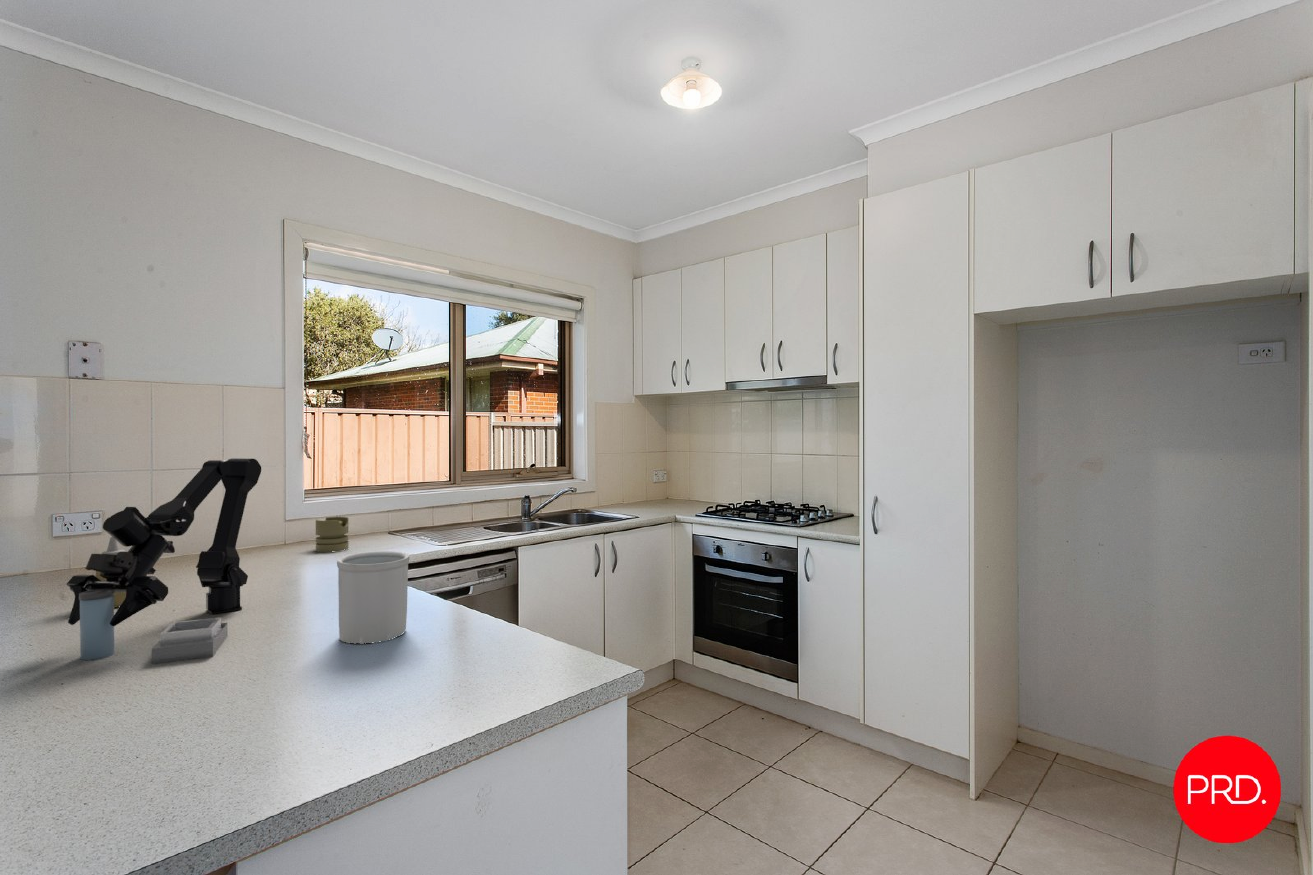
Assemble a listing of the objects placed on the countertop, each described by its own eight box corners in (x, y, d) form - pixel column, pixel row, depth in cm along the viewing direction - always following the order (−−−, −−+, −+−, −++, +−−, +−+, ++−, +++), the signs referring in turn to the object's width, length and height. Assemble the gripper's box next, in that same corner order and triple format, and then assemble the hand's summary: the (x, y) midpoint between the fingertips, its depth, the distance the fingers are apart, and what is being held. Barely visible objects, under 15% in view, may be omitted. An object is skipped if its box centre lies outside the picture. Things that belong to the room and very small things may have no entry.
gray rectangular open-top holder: (172, 642, 136) (172, 619, 136) (227, 636, 140) (227, 613, 140) (151, 663, 124) (151, 638, 123) (213, 656, 128) (212, 631, 128)
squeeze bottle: (141, 603, 168) (140, 535, 167) (106, 611, 160) (105, 540, 160) (120, 600, 170) (120, 534, 170) (85, 608, 163) (85, 538, 162)
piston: (354, 517, 249) (335, 521, 237) (354, 547, 249) (335, 553, 238) (328, 516, 250) (308, 520, 239) (329, 546, 251) (308, 552, 239)
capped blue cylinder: (98, 650, 131) (98, 588, 131) (122, 651, 131) (121, 588, 131) (72, 659, 126) (71, 594, 126) (96, 660, 125) (95, 595, 125)
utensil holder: (423, 629, 145) (423, 553, 145) (370, 649, 132) (369, 566, 131) (377, 621, 151) (377, 548, 151) (321, 640, 138) (321, 560, 138)
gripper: (75, 536, 133) (17, 602, 122) (156, 538, 131) (105, 605, 120) (111, 566, 141) (60, 630, 130) (188, 567, 139) (143, 633, 128)
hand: (90, 624), depth 127 cm, fingers open, 9 cm apart
